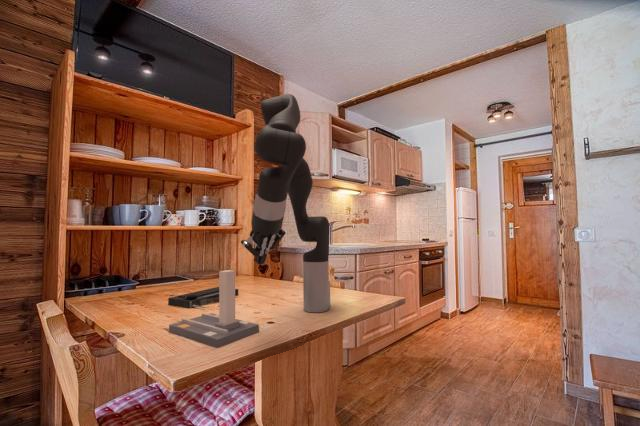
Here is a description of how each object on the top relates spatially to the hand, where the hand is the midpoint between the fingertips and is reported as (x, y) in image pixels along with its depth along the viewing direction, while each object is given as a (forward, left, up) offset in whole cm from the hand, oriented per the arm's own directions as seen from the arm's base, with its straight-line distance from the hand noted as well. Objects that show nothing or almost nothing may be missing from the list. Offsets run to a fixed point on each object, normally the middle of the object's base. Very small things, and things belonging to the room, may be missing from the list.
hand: (259, 262), depth 83 cm
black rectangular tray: (-20, -49, -21) cm, 57 cm away
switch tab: (+4, -9, -18) cm, 20 cm away
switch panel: (+4, -15, -20) cm, 25 cm away
